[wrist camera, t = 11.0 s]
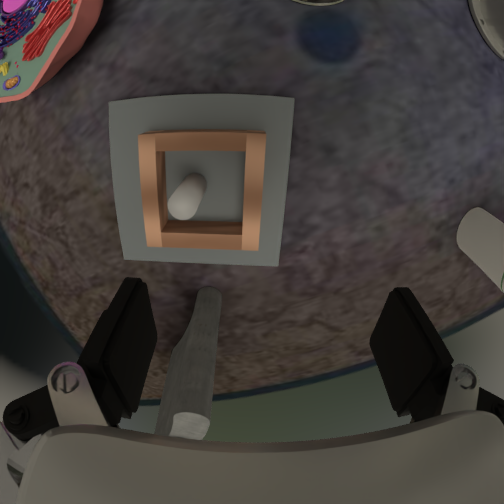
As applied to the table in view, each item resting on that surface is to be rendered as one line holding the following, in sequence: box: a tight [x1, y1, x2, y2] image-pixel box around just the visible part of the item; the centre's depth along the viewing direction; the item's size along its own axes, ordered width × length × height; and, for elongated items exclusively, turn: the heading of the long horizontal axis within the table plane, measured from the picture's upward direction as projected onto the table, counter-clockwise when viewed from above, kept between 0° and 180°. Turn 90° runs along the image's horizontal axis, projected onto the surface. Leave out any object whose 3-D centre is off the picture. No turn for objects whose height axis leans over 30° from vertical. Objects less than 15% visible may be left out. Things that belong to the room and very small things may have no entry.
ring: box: [138, 129, 266, 251], centre depth 25 cm, size 11×11×3 cm
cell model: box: [0, 0, 104, 103], centre depth 12 cm, size 17×20×11 cm
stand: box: [109, 94, 295, 266], centre depth 25 cm, size 18×18×8 cm
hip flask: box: [155, 287, 222, 440], centre depth 30 cm, size 16×4×20 cm, turn 155°
